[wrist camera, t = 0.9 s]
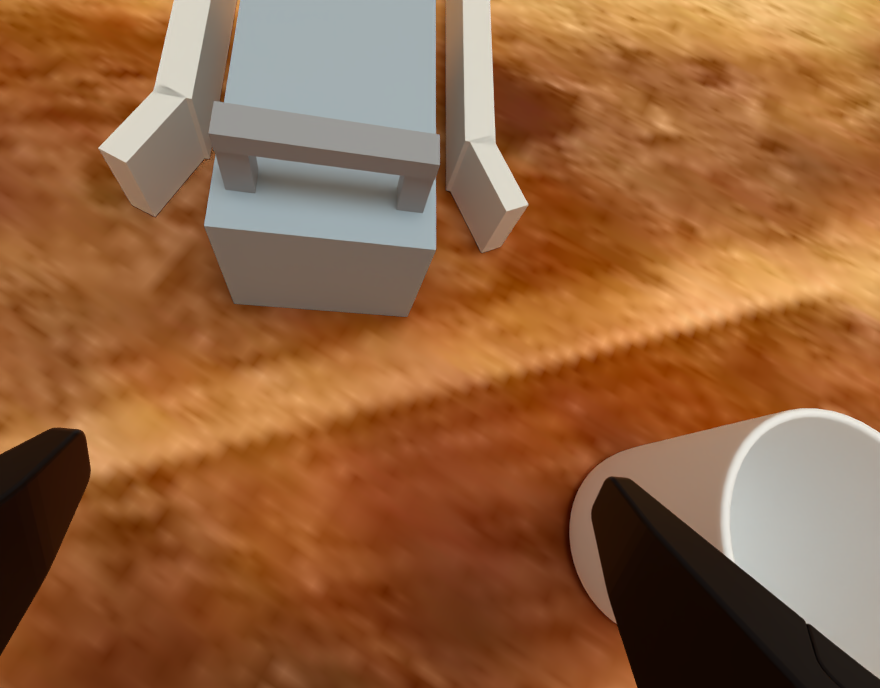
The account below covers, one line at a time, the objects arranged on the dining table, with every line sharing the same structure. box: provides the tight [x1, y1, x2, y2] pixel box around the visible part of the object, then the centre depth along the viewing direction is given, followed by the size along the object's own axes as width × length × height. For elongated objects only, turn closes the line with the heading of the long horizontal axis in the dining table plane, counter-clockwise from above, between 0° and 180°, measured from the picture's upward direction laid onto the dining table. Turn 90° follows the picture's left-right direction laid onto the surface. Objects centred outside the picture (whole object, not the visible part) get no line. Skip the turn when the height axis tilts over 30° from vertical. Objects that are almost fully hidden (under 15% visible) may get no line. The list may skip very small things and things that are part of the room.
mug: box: [569, 408, 880, 679], centre depth 20 cm, size 12×8×10 cm
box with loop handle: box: [204, 0, 440, 317], centre depth 23 cm, size 15×8×10 cm, turn 0°
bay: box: [99, 0, 528, 253], centre depth 28 cm, size 21×18×4 cm
